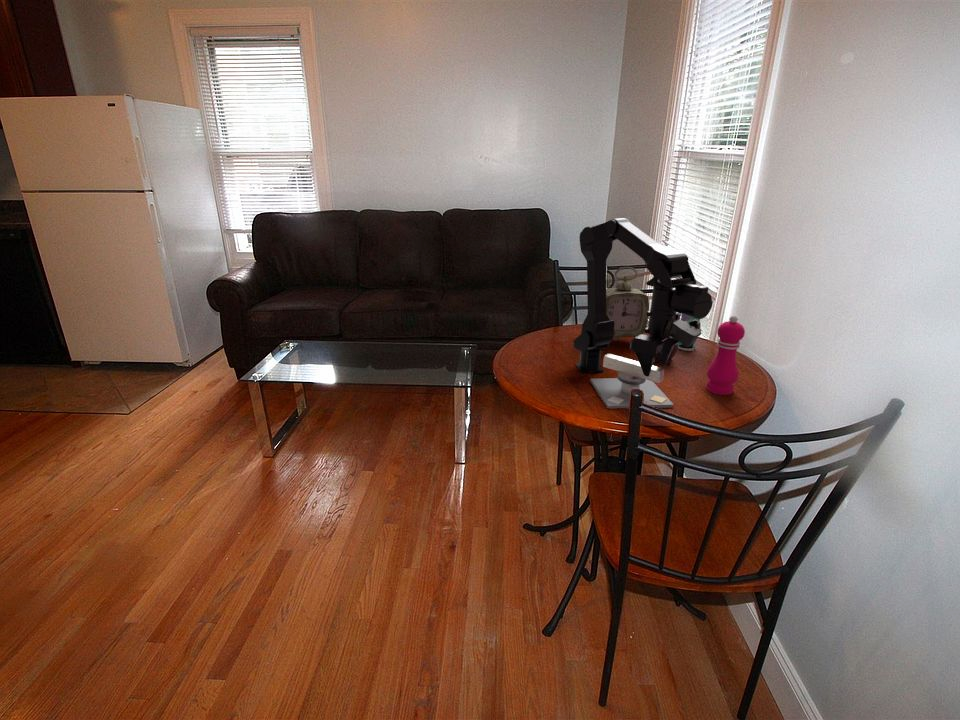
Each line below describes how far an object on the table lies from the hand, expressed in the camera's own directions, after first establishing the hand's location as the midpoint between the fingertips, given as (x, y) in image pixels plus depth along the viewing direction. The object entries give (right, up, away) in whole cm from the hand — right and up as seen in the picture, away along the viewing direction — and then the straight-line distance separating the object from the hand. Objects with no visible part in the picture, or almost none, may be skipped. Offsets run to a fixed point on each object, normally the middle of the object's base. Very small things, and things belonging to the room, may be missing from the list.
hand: (654, 370), depth 117 cm
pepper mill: (+20, -5, +9) cm, 22 cm away
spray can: (+23, +6, +38) cm, 45 cm away
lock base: (-4, -6, +7) cm, 10 cm away
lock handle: (-4, -2, +5) cm, 7 cm away
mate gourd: (+12, +2, +27) cm, 30 cm away
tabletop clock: (+3, +8, +42) cm, 43 cm away
